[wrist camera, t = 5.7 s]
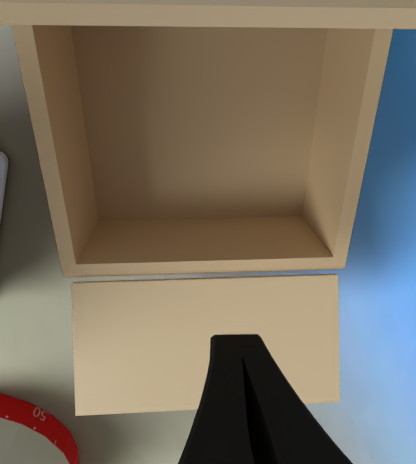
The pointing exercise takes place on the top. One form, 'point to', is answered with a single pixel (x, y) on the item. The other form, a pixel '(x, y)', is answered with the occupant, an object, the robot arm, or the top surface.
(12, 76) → the top surface
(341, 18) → the near flap
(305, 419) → the robot arm
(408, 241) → the top surface
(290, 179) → the carton
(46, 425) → the kitchen timer
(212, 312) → the far flap
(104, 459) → the top surface
